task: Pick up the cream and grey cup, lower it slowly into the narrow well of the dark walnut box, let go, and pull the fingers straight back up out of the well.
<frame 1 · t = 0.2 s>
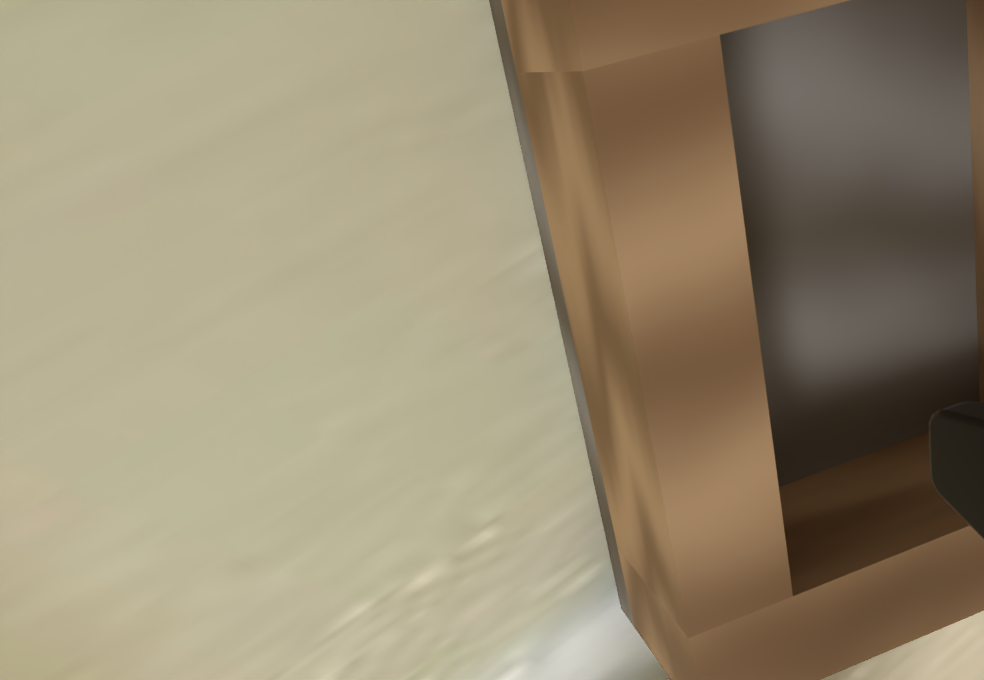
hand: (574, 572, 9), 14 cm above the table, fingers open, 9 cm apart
well box: (806, 245, 26), on the table
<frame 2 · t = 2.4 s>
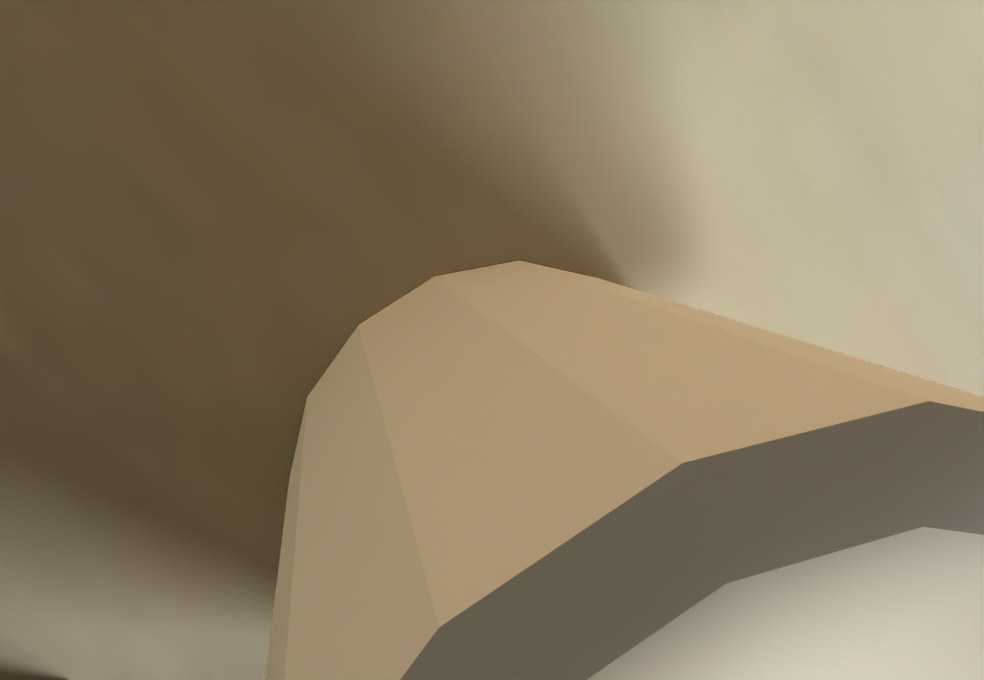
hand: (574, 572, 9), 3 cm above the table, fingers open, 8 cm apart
cream and grey cup: (499, 460, 12), on the table
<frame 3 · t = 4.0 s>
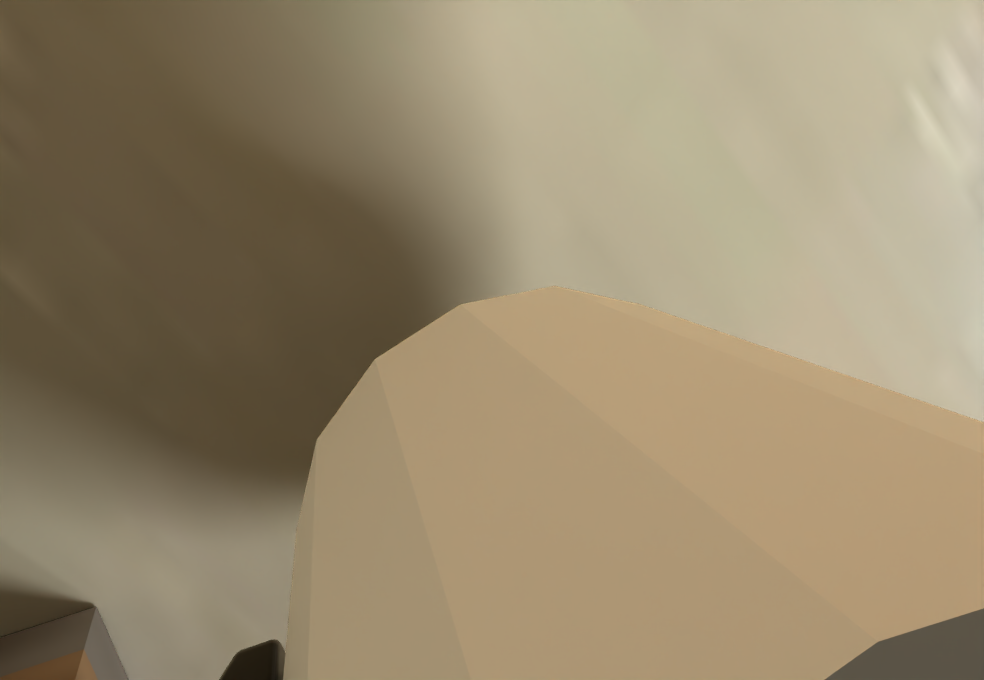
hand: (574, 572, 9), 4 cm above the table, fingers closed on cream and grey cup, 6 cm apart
cream and grey cup: (530, 505, 11), point 3 cm above the table, touching gripper
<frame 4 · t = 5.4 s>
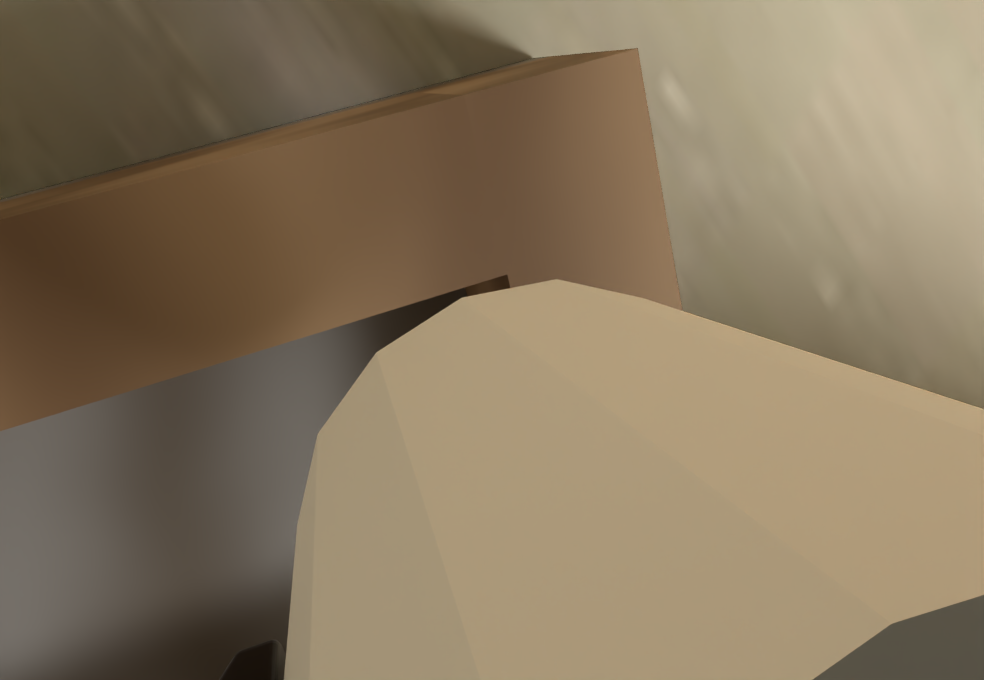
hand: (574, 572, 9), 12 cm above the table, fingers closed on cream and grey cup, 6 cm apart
well box: (211, 512, 20), on the table
cream and grey cup: (531, 500, 10), point 10 cm above the table, touching gripper
when the fingers open (4 cm above the table, at t = 7.8 s): cream and grey cup drops 1 cm, resting on well box.
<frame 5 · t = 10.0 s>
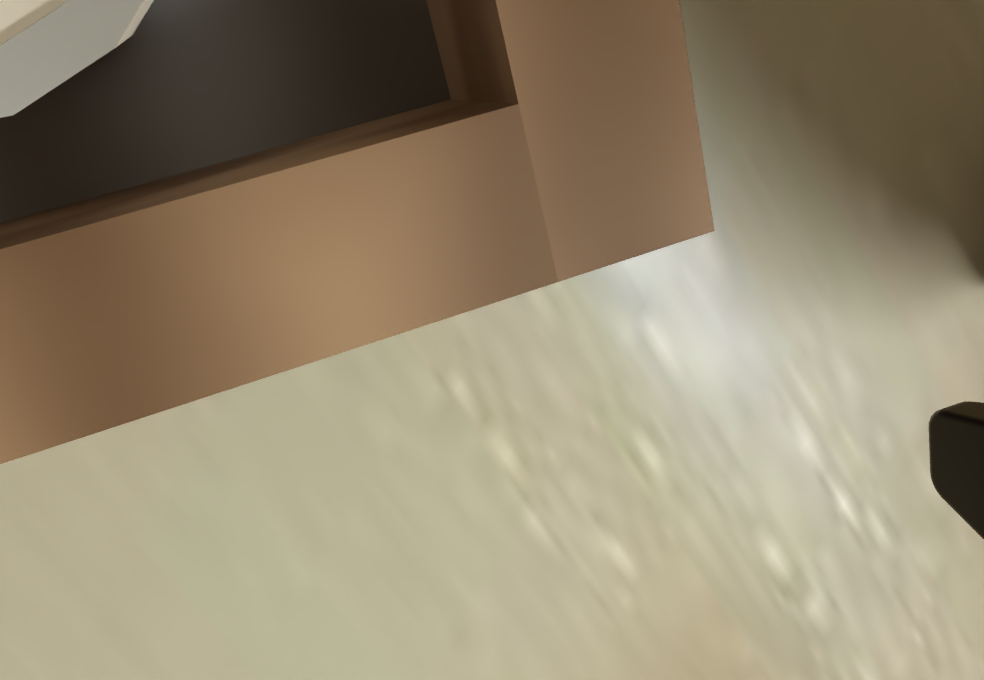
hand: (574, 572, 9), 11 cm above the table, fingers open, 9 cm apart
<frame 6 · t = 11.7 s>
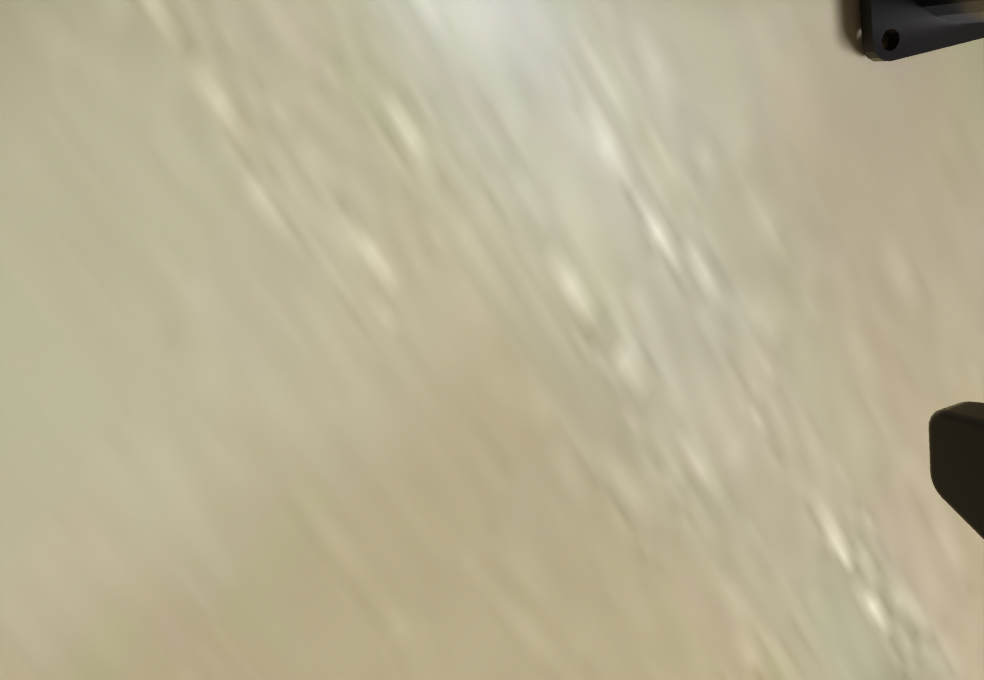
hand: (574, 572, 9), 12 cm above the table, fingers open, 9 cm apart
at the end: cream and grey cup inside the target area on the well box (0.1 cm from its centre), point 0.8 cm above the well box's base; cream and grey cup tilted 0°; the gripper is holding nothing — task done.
